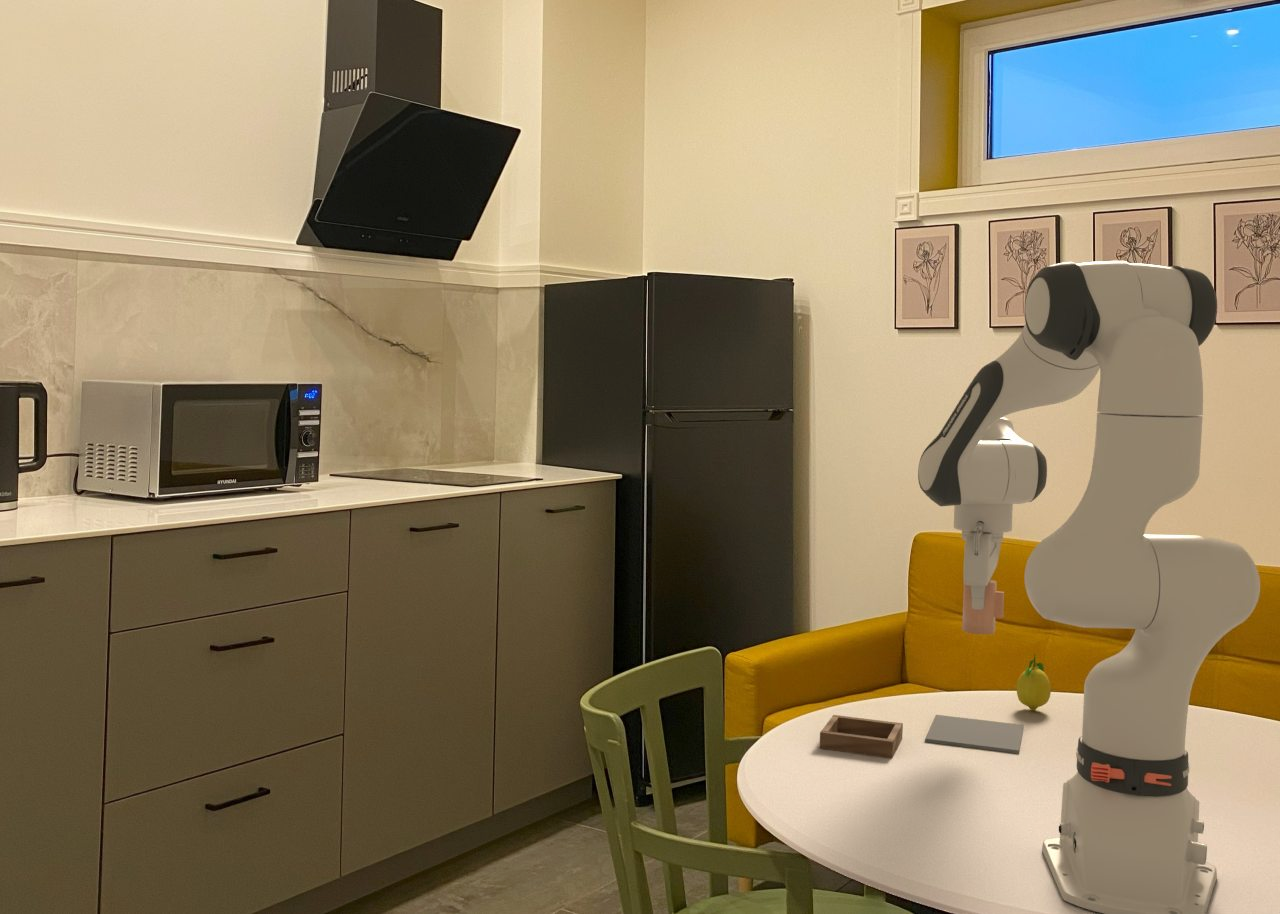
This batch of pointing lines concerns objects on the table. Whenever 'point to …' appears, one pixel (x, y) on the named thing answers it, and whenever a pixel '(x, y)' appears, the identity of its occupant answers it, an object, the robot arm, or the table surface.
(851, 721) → the brown wooden frame
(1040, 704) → the lemon
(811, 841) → the table surface
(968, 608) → the capsule with tab
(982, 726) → the mat
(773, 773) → the table surface
